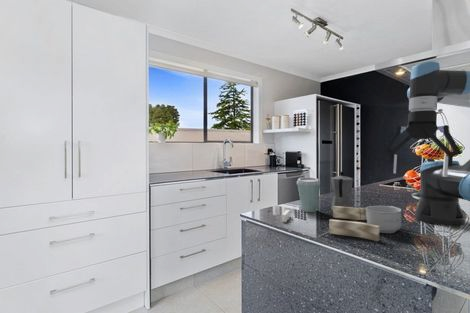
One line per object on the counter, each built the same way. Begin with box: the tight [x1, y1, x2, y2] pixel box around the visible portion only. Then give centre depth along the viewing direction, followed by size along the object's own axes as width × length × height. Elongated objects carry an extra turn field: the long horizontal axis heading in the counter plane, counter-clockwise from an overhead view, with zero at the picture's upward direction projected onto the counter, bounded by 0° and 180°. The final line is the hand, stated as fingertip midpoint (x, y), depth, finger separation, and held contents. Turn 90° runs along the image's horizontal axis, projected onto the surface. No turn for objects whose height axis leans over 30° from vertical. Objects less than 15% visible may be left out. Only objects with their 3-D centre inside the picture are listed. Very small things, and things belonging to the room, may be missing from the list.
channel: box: [328, 206, 380, 242], centre depth 93 cm, size 15×26×4 cm, turn 155°
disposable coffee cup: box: [296, 176, 321, 213], centre depth 116 cm, size 11×11×15 cm
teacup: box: [365, 205, 402, 234], centre depth 89 cm, size 14×11×8 cm
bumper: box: [281, 209, 291, 223], centre depth 103 cm, size 2×8×3 cm, turn 155°
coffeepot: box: [330, 171, 354, 212], centre depth 114 cm, size 15×9×18 cm, turn 153°
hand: (418, 174), depth 84 cm, fingers open, 13 cm apart
